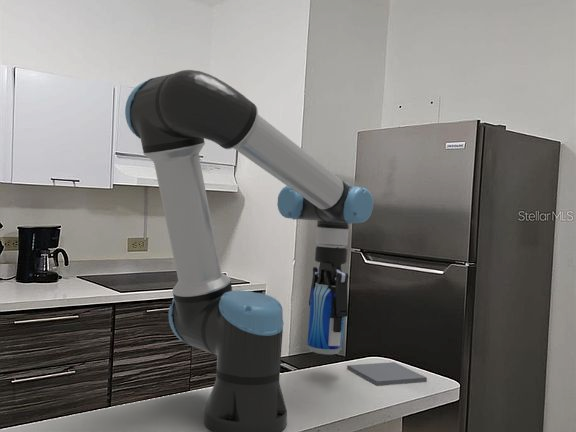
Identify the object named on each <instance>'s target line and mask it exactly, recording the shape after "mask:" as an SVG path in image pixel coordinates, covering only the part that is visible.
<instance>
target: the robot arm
mask: <svg viewBox="0 0 576 432" xmlns="http://www.w3.org/2000/svg"><path fill="white" fill-rule="evenodd" d="M124 110H125V111H124V114H125V120H126V124H127V126H128V128H129V130H130V131H131V132H132V133H133V135H134V136H136V137H137V138H138V139H140V141H141V146H142V147H141V148H142V152H143V155H144V156H145V157H147V158H148V159H150V160H151V161H152V162H153V164H154V169H155V175H156V179H157V184H158V188H159V189H158V190H159V194H160V198H161V203H162V207H163V213H164V217H165V221H166V223H165V224H166V227H167V232H168V236H169V241H170V247H171V251H172V256H173V261H174V267H175V270H176V276H177V283H176V284H175V285H174V287H173V288H172V294H173V295H172V296H173V299H172V300H171V301H172V303H171V305H169V307H168V323H169V325H170V328H171V330H172V333H173V334H174V336H176V337H177V339H179V340H180V341H181V342H183V343H184V344H185V345H187V346H190V347H192V348H194V349H199V350H202V351H204V352H206V353H209V354H211V355H214V356H216V375H215V382H214V384H213V387H212V389H211V392H210V395H209V398H208V400H207V403H206V406H205V408H204V409H205V410H204V418H203V420H204V421H203V422H204V425H205V427H207V429H209V430H211V431H212V432H282V431H284V429H285V428H286V427H287V424H288V423H287V420H288V411H287V406H286V403H285V398H284V396H283V392H282V391H283V390H282V387H281V384H280V374H281V373H280V372H281V362H282V359H281V358H282V344H283V333H284V331H283V330H284V324H285V323H284V320H283V317H284V316H283V307H282V304H281V303H280V301H279V300H277V299H276V298H274V297H272V296H270V295H268V294H265V293H262V292H254V291H251V290H233V286H232V281H231V278H230V277H229V275H227V274H225V273H223V272H222V269H221V264H220V259H219V254H218V247H217V244H216V238H215V232H214V228H213V223H212V218H211V217H212V216H211V212H210V206H209V202H208V196H207V191H206V186H205V179H204V175H203V174H204V173H203V170H202V169H203V168H202V164H201V159H200V152H201V150H202V149H203V147H204V146H205V144H206V143H205V140H208V141H211V142H212V143H215V144H217V145H219V146H220V147H221V148H222V149H225V150H231V149H233V150H235V151H237V152H238V153H239V154H241V155H242V156H244V157H246V159H248V160H250V161H251V162H253V163H254V164H255V165H257V166H258V167H260V168H261V169H262V170H264V171H265V172H266V173H268V174H269V175H271V176H273V178H275V179H277V180H278V181H280V182H281V183H282V184H284V185H285V186H284V187H282V188H281V190H280V191H279V193H278V197H277V202H276V203H277V204H276V205H277V210H278V211H279V214H280V215H281V216H282V217H284V218H286V219H292V220H293V221H294V220H297V221H298V220H305V221H317V223H316V224H317V225H316V235H315V239H316V240H315V243H316V244H317V246H316V247H315V253H314V260H315V262H316V263H319V266H313V267H312V280H311V285H310V286H311V287H310V291H309V299H308V306H309V307H310V300H311V291H312V290H313V289H314V287H315V286H316V284H315V283H317V282H318V284H324V285H325V284H326V285H328V288H329V289H331V294H332V303H331V310H332V315H330V325H329V340H328V345H329V346H340V338H341V325H342V318H343V317H345V318H346V317H349V303H348V302H349V301H348V300H349V299H348V298H349V296H348V282H349V281H348V280H349V273H348V272H343V271H342V265H344V264H346V263H347V258H348V249H347V248H346V246H348V244H349V243H348V242H349V241H348V240H349V239H348V238H349V236H350V234H349V227H350V226H349V225H352V224H362V223H365V222H366V221H368V220H369V219H370V217H371V215H372V212H373V210H374V197H373V196H372V194H371V192H370V191H369V189H367V188H365V187H362V186H361V187H360V186H357V185H354V186H351V184H349V182H346V181H344V180H342V179H341V178H340V177H339V176H337V175H336V174H334V173H333V172H332V171H330V169H328V168H327V167H326V166H324V165H323V164H322V163H320V162H319V161H318V160H317V159H315V158H314V156H311V155H310V154H309V153H307V151H306V150H304V149H303V148H302V147H300V145H298V144H296V143H295V142H294V141H293V140H291V139H290V138H289V137H288V136H286V135H285V134H283V132H282V131H280V130H279V129H277V128H276V127H275V126H273V125H272V124H271V123H269V121H267V120H266V119H265V118H263V117H262V116H261V115H259V109H258V106H257V105H256V103H254V102H252V101H251V100H249V99H248V98H247V97H246V96H245V95H244V94H242V93H241V92H239V91H238V90H236V89H235V88H234V87H232V86H231V85H229V84H228V83H226V82H224V81H223V80H221V79H220V78H217V77H216V76H213V75H212V74H209V73H206V72H204V71H200V70H194V69H184V70H180V71H176V72H173V73H170V74H169V73H168V74H165V75H160V76H156V77H151V78H148V79H147V80H145V81H143V82H141V83H140V84H138V85H137V86H136V87H134V88H133V90H132V91H131V92H130V94H128V97H127V100H126V103H125V109H124ZM332 286H336V287H332ZM335 293H336V297H335V296H334V294H335Z"/></svg>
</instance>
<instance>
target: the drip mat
mask: <svg viewBox="0 0 576 432" xmlns="http://www.w3.org/2000/svg"><path fill="white" fill-rule="evenodd" d="M346 368H347V369H346V370H347V371H350V372H352V373H354V374H356V375H357V376H359V377H360V378H362V379H364V380H365V381H367V382H369V383H371V384H373V385H375V386H376V387H378V386H390V384H391V385H401V384H403V383H404V384H413V383H414V384H415V383H427V381H428V378H427V376H424V375H422V374H420V373H419V372H416V371H414V370H412V369H409V368H407V367H406V366H403V365H401V364H398V363H396V362H394V361H389V362H377V363H361V364H348V365H347V366H346Z"/></svg>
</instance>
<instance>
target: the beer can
mask: <svg viewBox="0 0 576 432" xmlns="http://www.w3.org/2000/svg"><path fill="white" fill-rule="evenodd" d="M315 284H316V286H315V287H314V289H313V290H312V291H311V290H310V292H311V300H310V306H309V314H308V315H309V316H308V332H307V346H308V348H309V351H311V352H312V353H315V354H320V355H336V354H339V353H340V352H341V350H342V349H343V348H344V333H345V318H346V317H343V318H342V325H341V338H340V346H329V345H328V340H329V325H330V315H332V310H331V303H332V294H331V289H329V288H328V285H326V284H325V285H324V284H318V282H317V283H315ZM332 287H336V286H332ZM334 296H335V297H336V293H335V294H334Z"/></svg>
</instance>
